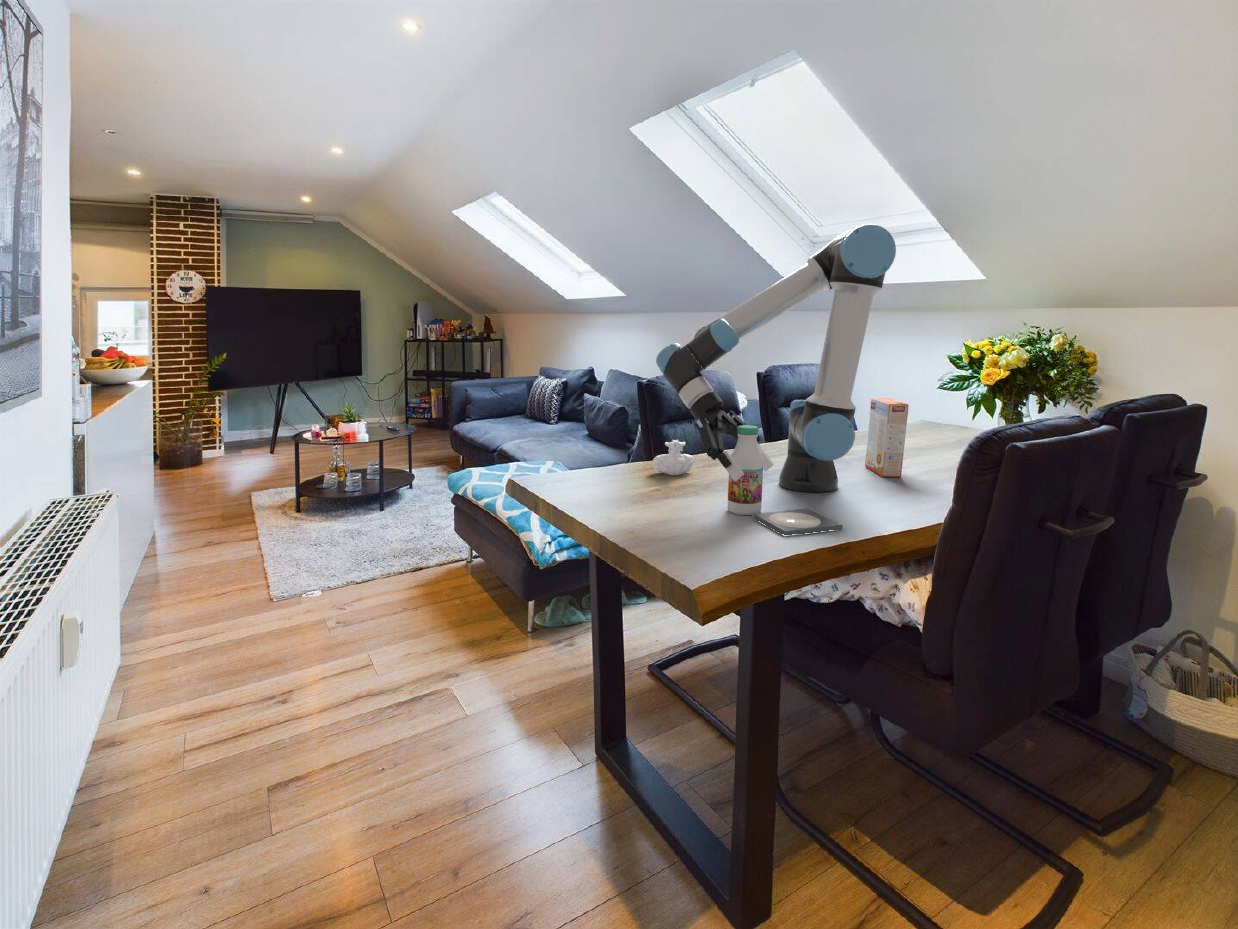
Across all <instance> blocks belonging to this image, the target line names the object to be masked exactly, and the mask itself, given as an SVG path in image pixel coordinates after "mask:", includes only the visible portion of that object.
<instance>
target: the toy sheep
mask: <svg viewBox="0 0 1238 929" xmlns="http://www.w3.org/2000/svg"><path fill="white" fill-rule="evenodd" d="M664 445H665V446H666V447H668V451H667V452H668V453H667V454H666V453H665V454H663V453H662V454H659V455H656V456H655V457H653V459H652V464H653V468H654V470H655V472H657V473H661V474H666V475H668V476H674V475H676V476H680V475H682V474H685V473H688V472H690V471H691V470H692V468H693V465H694V463H695V461H696V459H695V457H693V455H690V454H687V453H681V452H683V448H684V446H686V441H682V442H681V441H679V439H675V440H674V439H672V440H671V441H669V442H668V441H666V442H664Z"/></svg>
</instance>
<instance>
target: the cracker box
mask: <svg viewBox="0 0 1238 929" xmlns="http://www.w3.org/2000/svg"><path fill="white" fill-rule="evenodd" d="M869 408H870V410H869V419H868V431H867V440H866V441H867V442H866V452H865V453H866V454H865V460H864V463H865V464H864V466H865V467H866V468H867V469H869V470H871V471H872V472H874V473H875V474H876V475H878V476H880V477H883V478H901V477H902V472H903V471H902V470H903V462H904V461H903V460H904V454H905V445H906V444H905V442H906V436H907V435H906V434H907V426H908V415H909V408H910V405H909V403H905V402H903V401H899V400H896V399H892V398H889V397H871V398H870V407H869Z"/></svg>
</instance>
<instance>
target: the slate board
mask: <svg viewBox="0 0 1238 929" xmlns="http://www.w3.org/2000/svg"><path fill="white" fill-rule="evenodd" d="M752 516H753V517H752V519H753V520H754V519H755V521H756V522H758V521H760V522H761V523H763V524H765V525H766V526H765V525H764V526H765V527H767V526H768V527H769V529H770V528H772V529H774V530H775V531H774V530H773V531H774V532H776V531H777V532H779V533H780V534H779V533H778V534H779V535H781V534H784V535H792V534H805V533H813V532H821V531H829V530H839V531H843V525H844V524H842V523H840V522H838V521H835V520H834V519H832V518H829V517H827V516H824V515H822V514H820V513H819V512H816V511H814V510H812V509H810V508H809V507H807V508H798V509H797V508H796V509H787V510H778V511H776V510H775V511H768V512H760V513H756V514H753V515H752ZM760 522H759V523H760ZM761 523H760V524H761ZM763 524H762V525H763ZM768 527H767V528H768ZM772 529H771V530H772ZM777 532H776V533H777ZM813 534H814V533H813ZM805 535H806V534H805Z"/></svg>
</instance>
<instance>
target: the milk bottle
mask: <svg viewBox="0 0 1238 929" xmlns="http://www.w3.org/2000/svg"><path fill="white" fill-rule="evenodd" d="M737 432H738V435H737V436H738V439H737V442H736V445H735V447H734V449H733V451H732V453H731V454H730V455H731V456H732V458H733V459H734V460H735V462H736V463H737V465H738V466H739V467H740V469H741V470H742V471H743V473H744V475H743V476H742V477H740V478H739V479H738V480H737V481H734V480H733V479H732V477H731V476H730V474H729V473H728V487H727V490H728V491H727V510H728V512H729V513H731V514H734V515H739V516H740V515H741V516H753V514H756V513H761V510H762V504H763V503H762V498H763V497H762V496H763V476H764V470H763V460H762V455H761V453H760V450H759V448H758V444H757V436H758V435H759V427H758V426H756V425H750V424H749V425H748V424H746V425H741V426H738V430H737Z"/></svg>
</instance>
